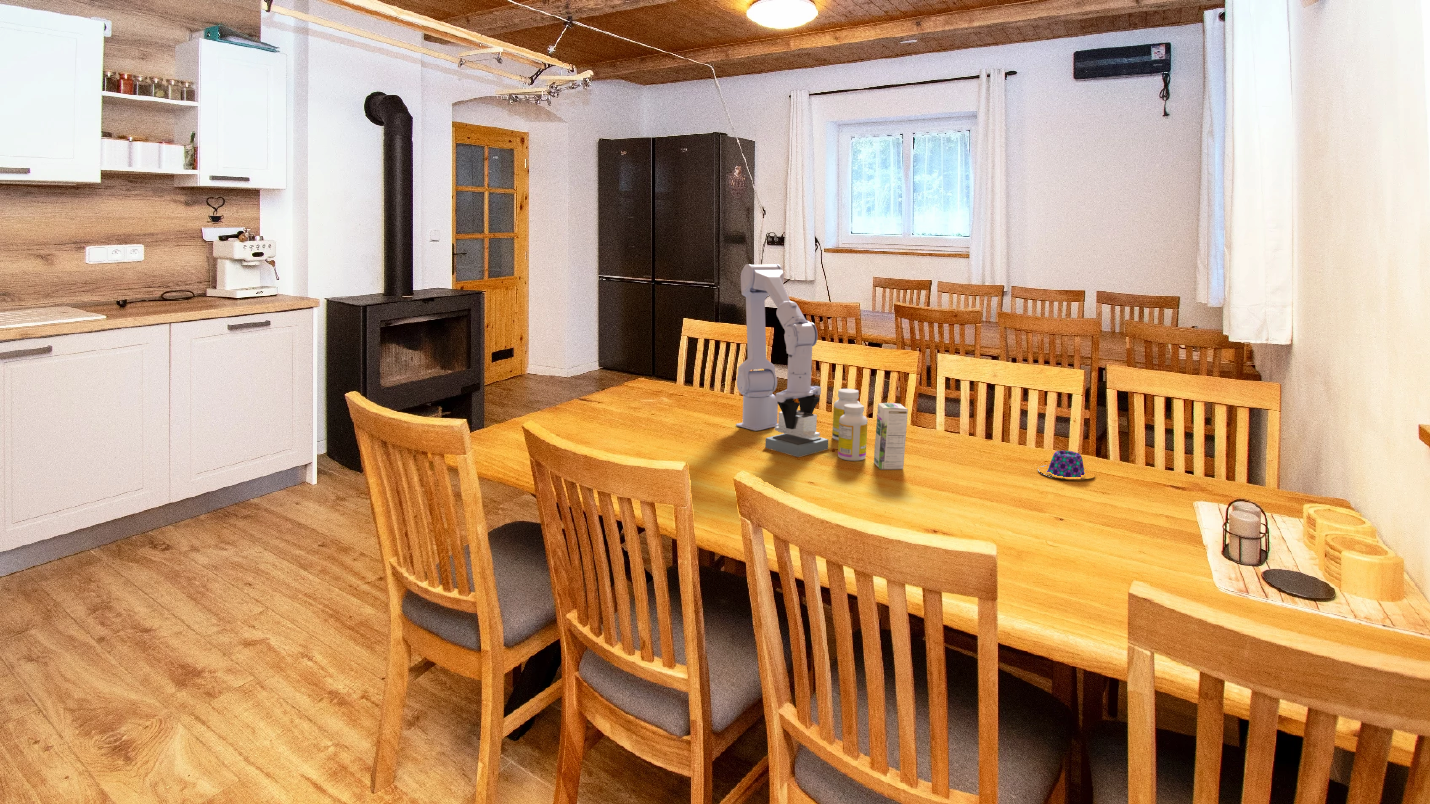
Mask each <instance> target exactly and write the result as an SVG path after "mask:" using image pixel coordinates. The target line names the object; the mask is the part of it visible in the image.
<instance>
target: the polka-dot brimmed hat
mask: <svg viewBox="0 0 1430 804" xmlns="http://www.w3.org/2000/svg"><path fill="white" fill-rule="evenodd" d="M1047 465H1049V468H1048V470H1047V471H1046V473H1047V472H1051V473H1052V474H1054V475H1057V476H1063V477H1081V475H1084V474H1085V472H1084V469H1085V466H1084V460H1083V457H1082V455H1081V454H1080V453H1078V452H1075V451H1072V450H1056V451H1055V452H1054V453H1053V455H1052V458H1051V460H1050V463H1049V464H1046V465H1045V464H1044V465H1041V466H1040V467H1044V466H1047ZM1037 471H1038V472H1039V473H1040V471H1039V469H1038V468H1037ZM1043 475H1044V476H1047V475H1045V474H1043ZM1050 476H1051V475H1050ZM1050 476H1047V477H1049V478H1051V477H1050Z"/></svg>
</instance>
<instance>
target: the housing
mask: <svg viewBox="0 0 1430 804" xmlns="http://www.w3.org/2000/svg"><path fill="white" fill-rule="evenodd" d="M817 417H818V415H817V414H815V413H812V414H811V413H807V412H804V411H802V410H800V409H797V412H796V418H795V426H794V429H788V428H786V425H785V420H784V417H783V413H782V411H778V420H777V423H778V426H776V427H774V431H777V432H778V433H781V434H784V433H785V434H790V435H794V436H798V437H802V438H808V439H810V438H814V437H820V436H821V432H817V424H818V420H817Z"/></svg>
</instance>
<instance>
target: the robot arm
mask: <svg viewBox="0 0 1430 804" xmlns="http://www.w3.org/2000/svg"><path fill="white" fill-rule="evenodd" d="M740 272H741V273H740V290H741V295H742V296H743V297H745V309H746V310H745V311H746V339H747V340H746V341H747V342H746V345H747V347H746V348H747V349H746V350H747V359H745V361H743V362H742V363H741V364H740V365H739V366H738V369H737V377H736V387H737V390H738V392H739V393H740V394H741V395H742V399H743V400H742V422H739V423H738V422H737V423H736V424H735V426H736V427H739V428H743V429H747V430H751V431H755V432H757V431H762V430H767V429H771V428H775V427H777V426H778V415H779V410H778V409H779V408H780V412H782V413H783V417H784V420H785V425H786V428H788V429H794V426H795V418H796V412H797V410H802V411H804V412H807V413H811V414H814V413H813V412H814V411H815V409H816V406H817V405H818V403H820V397H819V396H820V395H821V394H822V392H821V391H822V387H821V386H818V385H812V362H813V361H812V360H813V347H814V346H815V345H816V344H817V341H818V337H819V336H818V329H817V326H816V324H815V323H814V322H810V320H807V319H806V317H805V316H804V314H803V312H802V310H801V309H800V306H799V305H798V304H797V302H795V301H791V300H790V297H789V295H788V291H787V290H786V288H785V285H784V278H785V277H784V276H785V274H784V270H783V267H782V266H781V265H780V264H779V263H774V264H750V263H746V264H745V265H744V267H743V268H742V269H741V271H740ZM768 296H769V297H770V299H771V300H772V302H773V304H775V306H776V307H777V309H776V317H777V319H778V320H779V323H780V325H781V327H782V329H784V334H783V336H784V343H785V347H786V349H785V351H786V354H788V356H787V357H788V358H787V384H786V386H787V388H786V389H785V390H782V391H780V392H776V393H775V394H773V393H774V392H775V391H776V389H777V387H778V377H777V374H776V368H775V367H776V366H775V365H774V364H773V363H772V362H771V361H769V359H767V336H766V307H765V306H766V303H765V302H766V301H765V300H766V299H767V297H768ZM795 399H797V401H798V402H796V401H795ZM798 408H799V409H798Z"/></svg>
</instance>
